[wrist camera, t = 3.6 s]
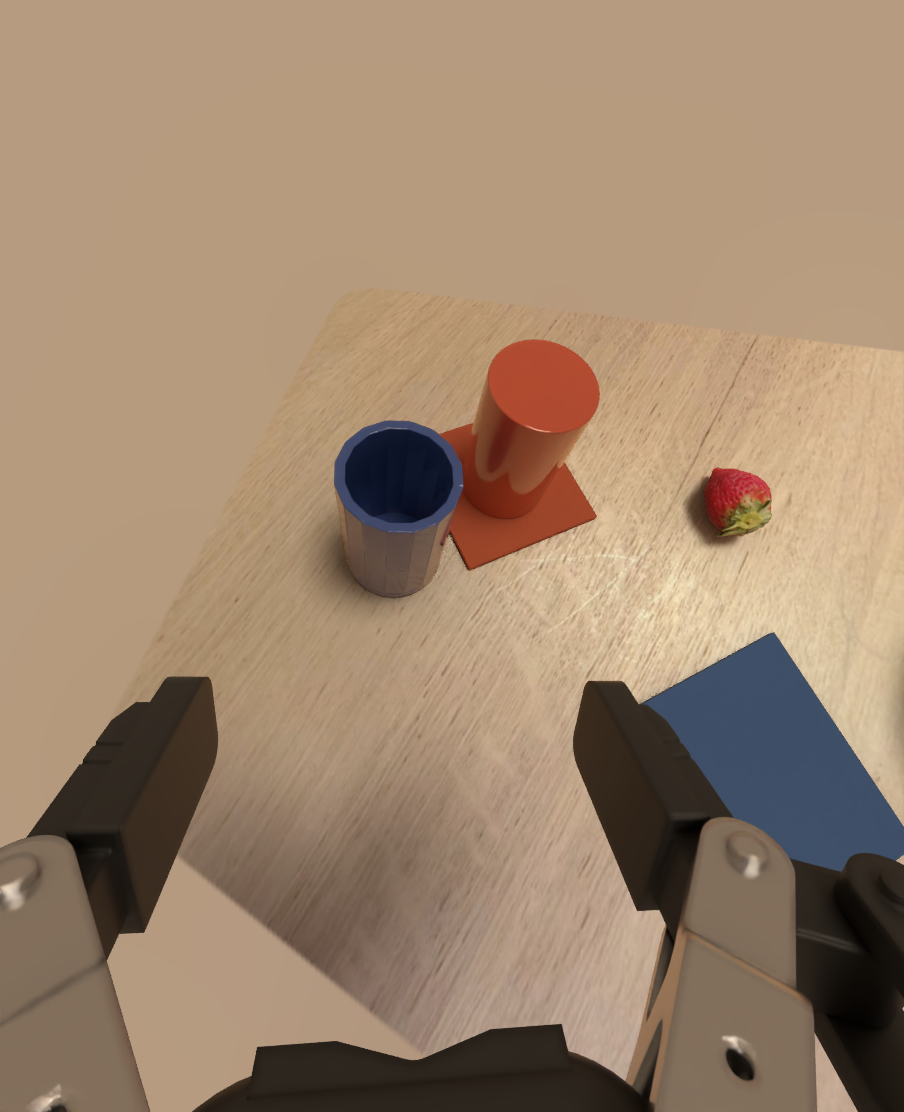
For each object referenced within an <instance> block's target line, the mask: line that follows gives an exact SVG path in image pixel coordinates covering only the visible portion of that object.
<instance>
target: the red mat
mask: <svg viewBox="0 0 904 1112" xmlns="http://www.w3.org/2000/svg"><path fill="white" fill-rule="evenodd" d="M472 426H473V423H472V424H469V425H466V426H463V427H459V428H456V429H453V430H450V431H447V432H444V433H441V434H439V435H440V436H441V437H443V438H444V439H445V440H446V441H447V442H448V443H450V444H451V446H452V447H453V449H454V451H455V453H456V455H457V457H458V458H459V460H460V462H461V464H462V462H463V458H464V455H465V451H466V448H467V444H468V441H469V437H470V434H471V430H472ZM596 517H597V516H596V514H595V512H594V511H593V509H592V507H591V506H590V504H589V502H588V501H587V499H586V497H585V496H584V494H583V492H582V491H581V489H580V487H579V486H578V484H577V482H576V481H575V479H574V477H573V476H572V474H571V472H570V471H569V469H568V468H567V466H566V464H565V463H563V465H562V467H561V468H560V470H559V471H558V473H557V475H556V476H555V478H554V480H553V481H552V483H551V484H550V486H549V488H548V489H547V491H546V492H545V494H544V496H543V497H542V499H541V500H540V502H539V504H538V505H537V506H536V507H535V508H534V509H533V510H532V511H530V512H529V513H527V514H525V515H523V516H520V517H517V518H511V519H503V518H496V517H492V516H489V515H487V514H485V513H483V512H481V511H479V510H478V509H477V508H475V507H474V506H473V505H472V504H471V503H470V502H469V500H468V499H467V498H466V496H465V494H464V492H463V490H462V494H461V497H460V500H459V503H458V506H457V510H456V513H455V516H454V519H453V522H452V526H451V529H450V534H451V536H452V538H453V540H454V542H455V544H456V546H457V548H458V550H459V552H460V554H461V556H462V558H463V560H464V562H465V564H466V566H467V568H468V570H472V569H474V568H476V567H479V566H481V565H484V564H486V563H489V562H491V561H493V560H496V559H498V558H501V557H503V556H506V555H508V554H510V553H513V552H515V551H518V550H520V549H523V548H525V547H527V546H530V545H532V544H535V543H537V542H540V541H542V540H544V539H547V538H549V537H552V536H554V535H557V534H559V533H561V532H564V531H566V530H569V529H571V528H574V527H576V526H578V525H581V524H583V523H586V522H588V521H591V520H593V519H595V518H596Z"/></svg>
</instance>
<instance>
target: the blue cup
mask: <svg viewBox="0 0 904 1112" xmlns="http://www.w3.org/2000/svg"><path fill="white" fill-rule="evenodd" d="M334 486H335V493H336V499H337V506H338V512H339V518H340V525H341V531H342V538H343V544H344V550H345V557H346V560H347V563H348V566H349V569H350V571H351V573H352V575H353V577H354V578H355V579H356V581H357V582H358V583H359V584H360V585H362V586H363V587H364V588H365V589H367V590H369V591H370V592H372V593H375V594H377V595H381V596H385V597H402V596H407V595H410V594H413V593H415V592H417V591H419V590H420V589H422V588H423V587H424V586H426V585H427V584H428V583H429V582H430V580H431V579H432V578H433V576H434V575H435V573H436V571H437V568H438V565H439V563H440V560H441V557H442V554H443V551H444V548H445V545H446V542H447V538H448V535H449V532H450V529H451V526H452V522H453V519H454V516H455V513H456V510H457V506H458V503H459V500H460V497H461V494H462V490H463V486H464V485H463V471H462V464H461V462H460V460H459V458H458V457H457V455H456V453H455V451H454V449H453V447H452V446H451V444H450V443H448V442H447V441H446V440H445V439H444V438H443V437H441V436H440V435H439V434H438V433H437V432H435V431H434V430H432V429H430V428H427V427H425V426H422V425H419V424H417V423H414V422H410V421H383V422H380V423H377V424H374V425H370V426H367V427H364V428H362V429H361V430H360V431H359V432H357V433H356V434H355V435H354V436H352V437H351V438H350V439H349V440H347V441H346V442H345V444H344V445H343V447H342V449H341V451H340V453H339V455H338V457H337V459H336V461H335V470H334Z"/></svg>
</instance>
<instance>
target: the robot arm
mask: <svg viewBox="0 0 904 1112" xmlns="http://www.w3.org/2000/svg"><path fill="white" fill-rule="evenodd" d="M217 748H218V731H217V723H216V715H215V706H214V698H213V690H212V683H211V680H210V679H209V677H167V678H166V679H165V680H164V682H163V683H162V685H161V686H160V688H159V689H158V691H157V692H156V694H155V695H154V697H153V698H152V700H151V701H150V702H136V703H134V704H133V705H132V706H130V707H129V708H128V709H126V710H125V711H124V712H122V713H121V714H120V715H118V716H117V717H115V718H114V719H113V720H111V722H110V723H109V725H108V726H107V727H106V729H105V730H104V731H103V733H102V734H101V736H100V737H99V738H98V740H97V741H96V745H95V746H93V747H92V748H91V749H90V751H89V752H88V753H87V755H86V756H85V758H84V759H83V763H82V765H79V766H78V767H77V769H76V770H75V771H74V773H73V774H72V776H71V777H70V778H69V780H68V781H67V782H66V784H65V785H64V787H63V788H62V789H61V791H60V792H59V793H58V795H57V796H56V798H55V799H54V800H53V802H52V803H51V804H50V806H49V807H48V809H47V810H46V811H45V813H44V814H43V815H42V817H41V818H40V820H39V821H38V822H37V824H36V825H35V827H34V828H33V829H32V831H31V832H30V833H29V835H28V836H27V837H26V838H24V839H21V840H18V841H16V842H13V843H10V844H8V845H6V846H4V847H2V848H0V1112H150V1109H149V1106H148V1102H147V1099H146V1096H145V1092H144V1088H143V1085H142V1082H141V1079H140V1075H139V1071H138V1068H137V1064H136V1061H135V1058H134V1054H133V1051H132V1047H131V1043H130V1040H129V1036H128V1033H127V1030H126V1026H125V1023H124V1020H123V1016H122V1012H121V1009H120V1005H119V1002H118V998H117V995H116V991H115V988H114V985H113V981H112V978H111V974H110V971H109V967H108V964H107V959H108V957H109V954H110V953H111V950H112V948H113V946H114V944H115V942H116V939H117V937H118V935H119V934H125V933H126V934H127V933H144V932H145V929H146V927H147V925H148V922H149V920H150V918H151V915H152V913H153V910H154V908H155V906H156V903H157V901H158V898H159V896H160V894H161V891H162V889H163V886H164V884H165V881H166V879H167V877H168V874H169V872H170V870H171V867H172V865H173V862H174V860H175V858H176V855H177V853H178V850H179V848H180V846H181V843H182V841H183V838H184V836H185V834H186V831H187V829H188V827H189V824H190V822H191V819H192V817H193V815H194V812H195V810H196V807H197V805H198V803H199V800H200V798H201V795H202V793H203V791H204V788H205V786H206V783H207V781H208V779H209V776H210V774H211V771H212V769H213V766H214V763H215V759H216V755H217ZM573 750H574V756H575V761H576V764H577V767H578V769H579V771H580V774H581V776H582V779H583V781H584V783H585V786H586V788H587V791H588V793H589V796H590V798H591V800H592V803H593V805H594V808H595V810H596V813H597V815H598V817H599V820H600V822H601V825H602V827H603V829H604V832H605V834H606V837H607V839H608V842H609V844H610V846H611V849H612V851H613V854H614V856H615V859H616V861H617V863H618V866H619V868H620V871H621V873H622V875H623V878H624V880H625V883H626V885H627V888H628V890H629V892H630V895H631V897H632V900H633V902H634V905H635V907H636V909H637V911H646V910H660V912H661V914H662V916H663V919H664V921H665V923H666V925H665V928H664V930H663V933H662V936H661V941H660V945H659V950H658V954H657V958H656V963H655V967H654V972H653V976H652V980H651V985H650V989H649V994H648V998H647V1002H646V1007H645V1011H644V1016H643V1020H642V1024H641V1029H640V1033H639V1037H638V1040H637V1044H636V1048H635V1051H634V1054H633V1057H632V1061H631V1064H630V1067H629V1071H628V1074H627V1078H626V1081H624V1080H623V1079H622V1078H620V1077H619V1076H618V1075H616V1074H615V1073H614V1072H612V1071H610V1070H609V1069H607V1068H605V1067H604V1066H602V1065H600V1064H599V1063H597V1062H595V1061H593V1060H591V1059H588V1058H586V1057H584V1056H581V1055H579V1054H576V1053H573V1052H569V1051H568V1049H567V1045H566V1041H565V1036H564V1032H563V1028H562V1024H555V1025H542V1026H528V1027H515V1028H502V1029H490V1030H488V1031H486V1032H483V1033H481V1034H479V1035H476V1036H474V1037H472V1038H469V1039H467V1040H465V1041H463V1042H460V1043H458V1044H456V1045H453V1046H451V1047H449V1048H446V1049H444V1050H442V1051H439V1052H437V1053H435V1054H432V1055H430V1056H428V1057H425V1058H423V1059H419V1060H407V1059H403V1058H399V1057H395V1056H391V1055H388V1054H384V1053H380V1052H376V1051H372V1050H368V1049H365V1048H360V1047H357V1046H353V1045H349V1044H345V1043H342V1042H338V1041H331V1042H317V1043H304V1044H291V1045H278V1046H264V1047H257V1050H256V1056H255V1061H254V1066H253V1071H252V1076H250V1077H248V1078H245V1079H243V1080H241V1081H238V1082H236V1083H234V1084H233V1085H231V1086H229V1087H227V1088H226V1089H224V1090H222V1091H220V1092H219V1093H217V1094H215V1095H214V1096H213V1097H211V1098H210V1099H208V1100H207V1101H206V1102H204V1103H203V1104H201V1105H200V1106H199V1107H197V1108H196V1109H195V1110H194V1111H192V1112H817V1095H816V1065H815V1036H814V1032H815V1034H816V1036H817V1038H818V1039H819V1041H820V1043H821V1045H822V1047H823V1049H824V1050H825V1052H826V1054H827V1056H828V1058H829V1059H830V1061H831V1063H832V1065H833V1067H834V1069H835V1070H836V1072H837V1074H838V1076H839V1078H840V1080H841V1081H842V1083H843V1085H844V1087H845V1089H846V1091H847V1092H848V1094H849V1096H850V1098H851V1100H852V1102H853V1103H854V1105H855V1107H856V1109H857V1111H858V1112H904V1011H903V1010H902V1008H903V1007H904V865H902V864H900V863H899V862H896V861H894V860H892V859H890V858H887V857H884V856H881V855H877V854H873V853H858V854H854V855H852V856H851V857H850V858H849V859H848V861H847V862H846V864H845V866H844V868H843V870H842V871H841V872H840V871H836V870H832V869H829V868H825V867H821V866H817V865H813V864H809V863H806V862H802V861H798V860H794V859H791V858H789V857H788V855H787V854H786V852H785V851H784V850H783V849H782V847H781V846H780V845H779V844H778V843H777V842H776V841H775V840H774V839H773V838H771V837H770V836H769V835H768V834H766V833H765V832H763V831H762V830H760V829H759V828H757V827H755V826H753V825H751V824H749V823H747V822H744V821H742V820H738V819H735V818H734V817H733V816H732V814H731V813H730V811H729V810H728V808H727V807H726V805H725V804H724V803H723V801H722V800H721V798H720V797H719V795H718V794H717V792H716V791H715V790H714V788H713V787H712V785H711V784H710V782H709V781H708V779H707V778H706V776H705V775H704V774H703V772H702V771H701V769H700V768H699V766H698V765H697V763H696V762H695V761H694V759H691V755H690V753H689V752H688V750H687V749H686V747H685V746H684V745H683V743H680V739H679V737H678V736H677V734H676V733H675V732H674V730H673V729H672V727H671V726H670V724H669V723H668V721H667V720H666V719H664V718H663V717H662V716H661V715H659V714H658V713H657V712H656V711H654V710H653V709H652V708H651V707H649V706H648V705H639V704H638V703H637V701H636V700H635V698H634V696H633V695H632V693H631V692H630V690H629V689H628V687H627V686H626V684H625V683H624V682H622V681H588V682H587V683H586V685H585V687H584V691H583V695H582V699H581V704H580V708H579V713H578V717H577V722H576V726H575V731H574V736H573Z"/></svg>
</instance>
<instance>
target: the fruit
mask: <svg viewBox="0 0 904 1112" xmlns="http://www.w3.org/2000/svg"><path fill="white" fill-rule="evenodd" d="M704 498H705V503H706V512H707V515H708V517H709V519H710V520H711V522H712V524H713V525H714V526H715V527H716V528H718V529H719V530H721V531H720V534H719V535H717V536H716V537H722V536H728V535H739V536H743V535H745V534H748V533H751V532H754V531H755V530H757V529H759V528H762V527H764V525H765V523H768V522H769V520H770V519H771V517H772V514H771V501H772V500H771V492H770V488H769V487H768V486H767V484H766V483H765V482H764V481H763V480H762V479H760V478H759V477H758V476H756V475H753V474H751V473H747V472H744V471H740V470H737V469H721V468H715V469H714V470H713V471H712V474H711V477H710V481H709V482H708V483H707V485H706V488H705V492H704Z"/></svg>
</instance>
